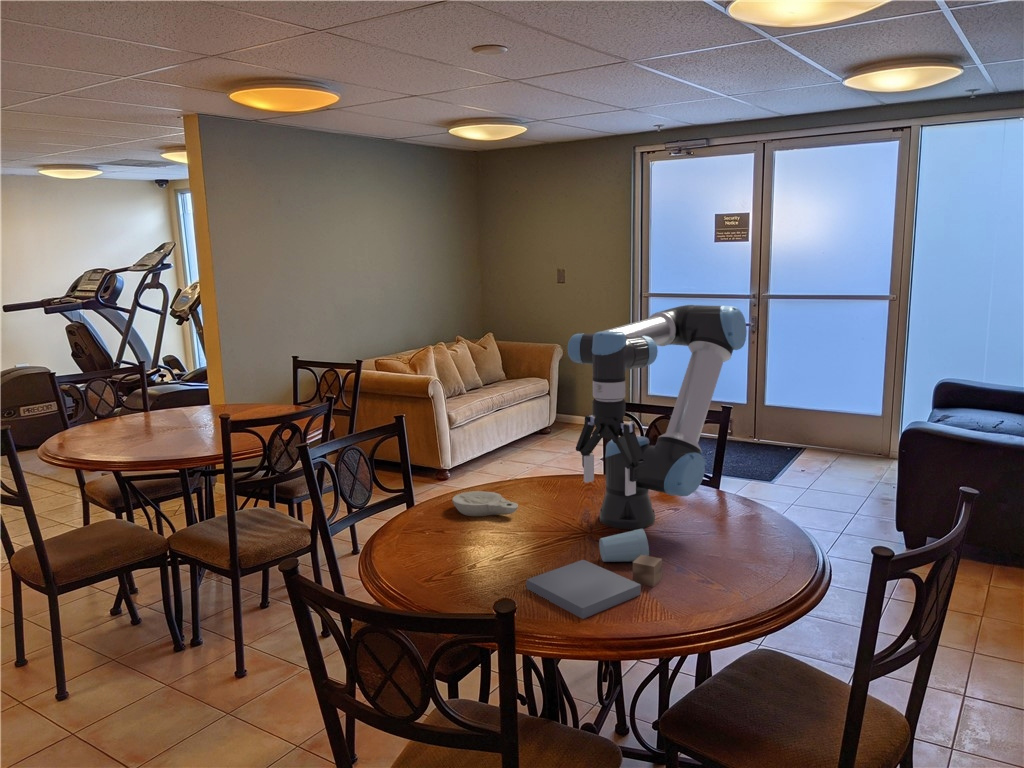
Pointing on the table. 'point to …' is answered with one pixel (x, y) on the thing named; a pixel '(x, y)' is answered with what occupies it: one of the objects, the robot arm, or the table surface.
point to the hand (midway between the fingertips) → (609, 488)
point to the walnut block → (647, 570)
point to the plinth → (583, 588)
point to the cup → (624, 546)
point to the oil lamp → (483, 504)
